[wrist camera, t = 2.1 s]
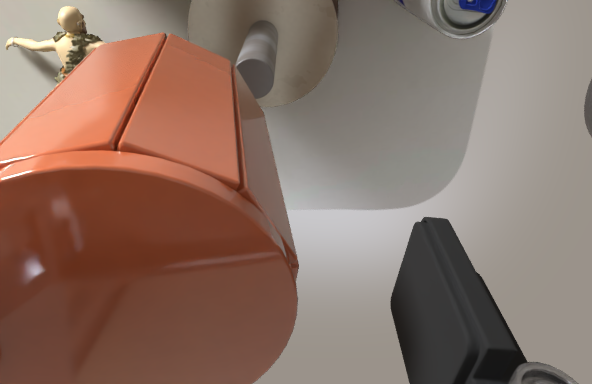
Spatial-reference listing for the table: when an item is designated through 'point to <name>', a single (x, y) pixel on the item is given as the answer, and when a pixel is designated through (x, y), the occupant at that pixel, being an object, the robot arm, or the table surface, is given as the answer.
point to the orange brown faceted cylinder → (144, 226)
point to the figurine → (65, 41)
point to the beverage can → (456, 15)
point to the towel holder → (269, 42)
